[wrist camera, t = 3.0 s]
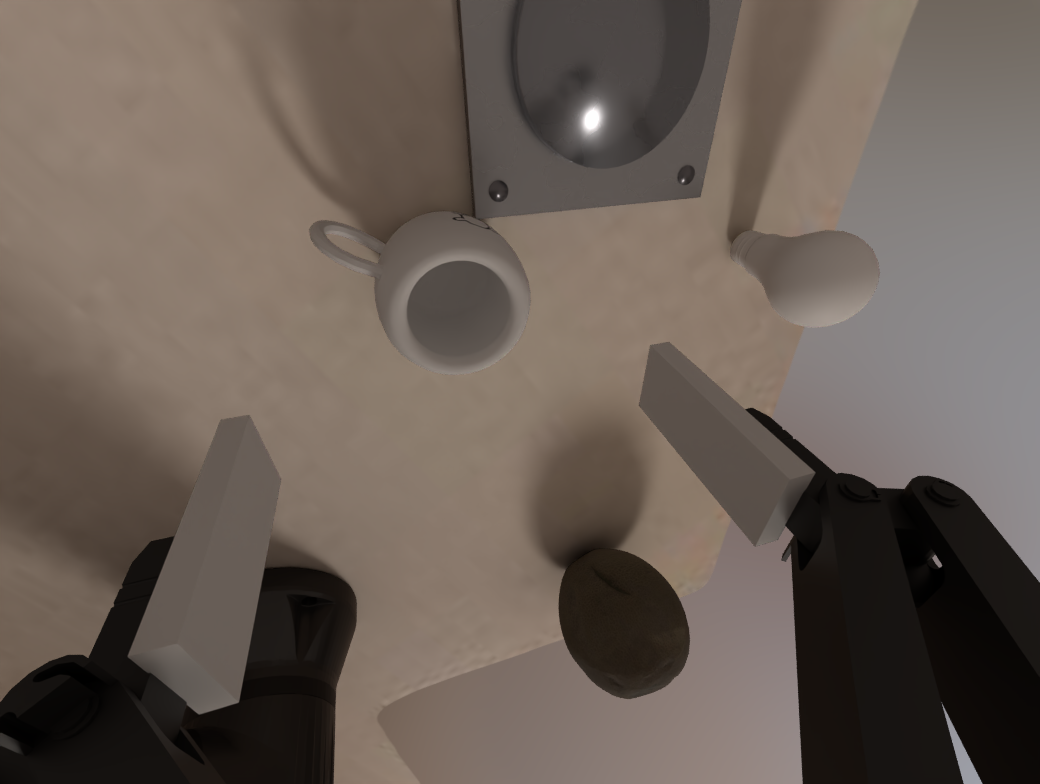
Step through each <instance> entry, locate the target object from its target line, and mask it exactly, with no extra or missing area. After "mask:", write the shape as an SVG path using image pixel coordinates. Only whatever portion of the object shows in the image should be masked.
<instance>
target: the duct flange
mask: <svg viewBox="0 0 1040 784" xmlns="http://www.w3.org/2000/svg"><path fill="white" fill-rule="evenodd" d="M741 2H742V0H457V8H458V21H459V34H460V47H461V60H462V74H463V87H464V100H465V113H466V126H467V139H468V152H469V165H470V178H471V192H472V205H473V216H474V217H475V218H477V219H484V218H494V217H505V216H515V215H525V214H535V213H545V212H555V211H565V210H575V209H586V208H596V207H606V206H616V205H626V204H636V203H646V202H657V201H667V200H677V199H687V198H697V197H701V192H702V187H703V182H704V178H705V173H706V168H707V163H708V159H709V154H710V149H711V144H712V140H713V135H714V130H715V125H716V121H717V116H718V111H719V106H720V102H721V97H722V92H723V87H724V83H725V78H726V73H727V68H728V64H729V59H730V54H731V49H732V45H733V40H734V35H735V30H736V26H737V21H738V16H739V11H740V7H741Z"/></svg>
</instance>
